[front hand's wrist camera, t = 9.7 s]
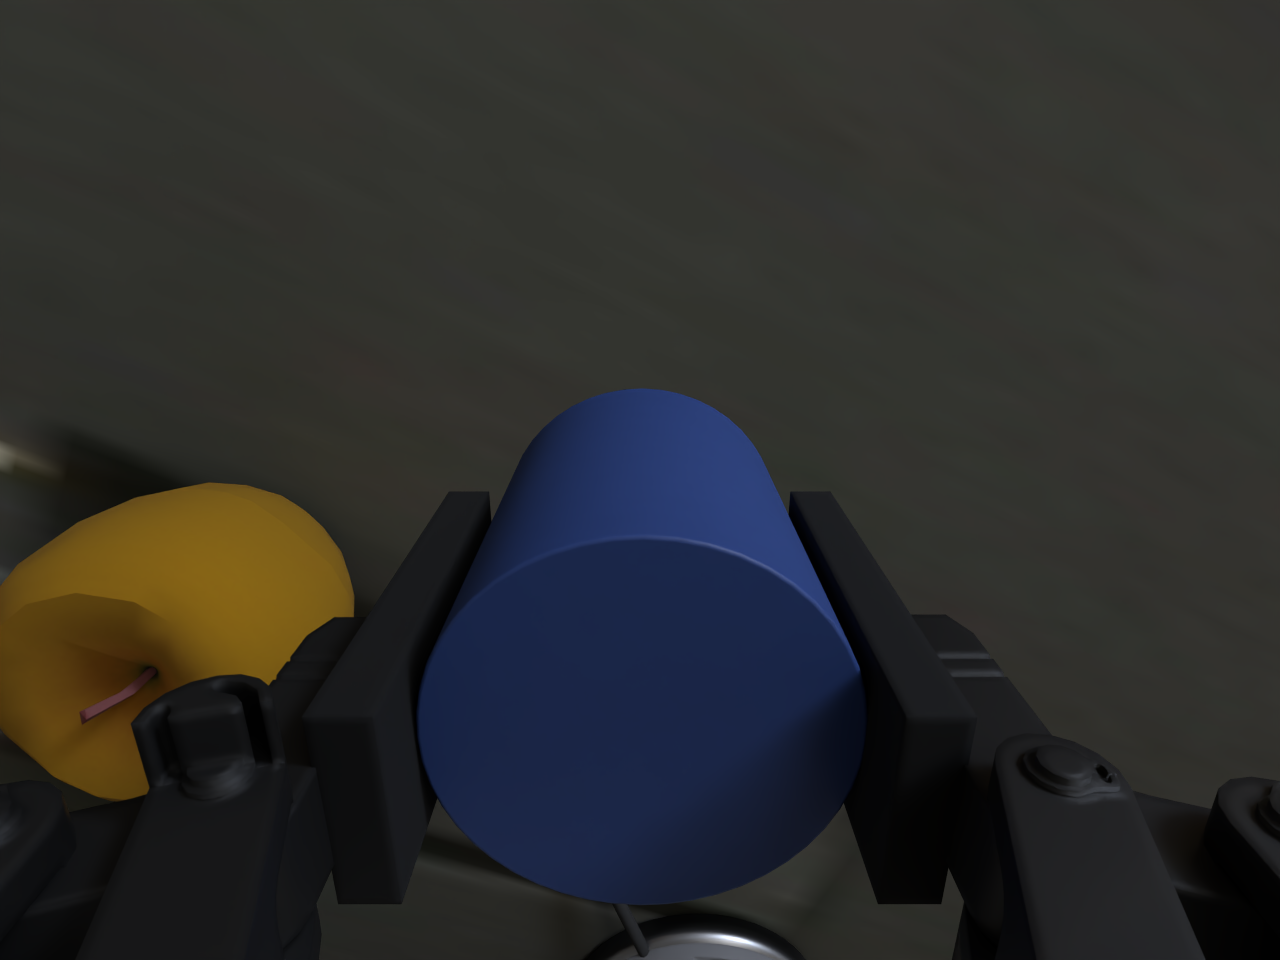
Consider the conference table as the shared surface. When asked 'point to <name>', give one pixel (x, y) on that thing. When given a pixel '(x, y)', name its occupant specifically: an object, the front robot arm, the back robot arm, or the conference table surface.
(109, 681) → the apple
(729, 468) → the canister
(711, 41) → the conference table surface
